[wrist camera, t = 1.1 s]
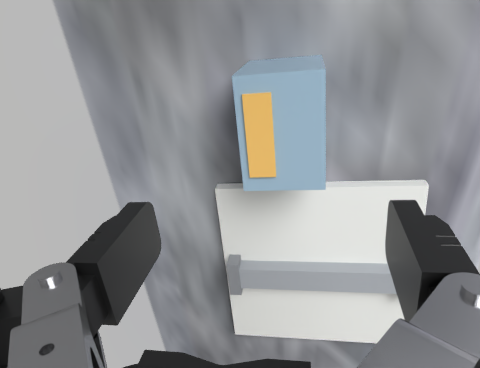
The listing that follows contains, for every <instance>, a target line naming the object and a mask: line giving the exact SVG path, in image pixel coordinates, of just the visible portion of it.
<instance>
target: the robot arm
mask: <svg viewBox="0 0 480 368" xmlns="http://www.w3.org/2000/svg"><path fill="white" fill-rule="evenodd" d="M160 251H161V238H160V233H159V229H158V225H157V220H156V216H155V212H154V208H153V205H152V204H151V203H150V202H129V203H128V204H127V205H126V206H125V207H124V208H123V209H122V210H121V211H120V212H119V214H117V216H114V217H112V218H111V219H109V220H107V221H106V222H104V223H103V224H102V225H101V226H100V227H99V228H98V229H97V230H96V231H95V233H94V234H92V235H91V236H90V237H89V238H88V241H86V242H85V243H84V244H83V245H82V246H81V247H80V248H79V249H78V250H77V251H76V252H75V253H74V255H72V257H71V258H70V259H69V260H68V261H67V262H66V263H56V264H52V265H49V266H46V267H44V268H42V269H40V270H38V271H36V272H35V273H33V274H32V275H31V276H30V277H29V278H28V279H27V280H26V281H25V283H24V285H23V286H19V287H13V288H9V289H3V290H1V289H0V368H107V364H106V360H105V355H104V351H103V346H102V341H101V337H100V334H99V332H98V329H99V328H100V327H101V325H118V324H119V322H120V320H121V319H122V317H123V315H124V314H125V312H126V310H127V309H128V307H129V305H130V304H131V302H132V300H133V299H134V297H135V295H136V294H137V292H138V290H139V289H140V287H141V285H142V284H143V282H144V280H145V278H146V277H147V275H148V273H149V272H150V270H151V268H152V267H153V265H154V263H155V262H156V260H157V258H158V257H159V254H160ZM385 252H386V259H387V263H388V267H389V270H390V273H391V276H392V280H393V283H394V286H395V290H396V293H397V296H398V299H399V303H400V306H401V309H402V313H403V316H404V319H405V320H404V319H401V318H400V319H398V320H396V321H395V322H394V323H393V324H392V326H391V327H390V328H389V329H388V330H387V332H386V333H385V334H384V335H383V337H382V338H381V339H380V340H379V341H378V343H377V344H376V345H375V346H374V347H373V349H372V350H371V351H370V352H369V353H368V355H367V356H366V357H365V358H364V360H363V361H362V362H361V363H360V364H359V366H358V367H357V368H480V274H479V272H478V271H477V269H476V267H475V266H474V264H473V263H472V261H471V260H470V258H469V256H468V255H467V253H466V252H465V250H464V248H463V247H462V246H461V244H460V242H459V241H458V239H457V237H455V234H454V233H453V231H452V230H451V228H450V226H449V225H448V224H447V223H445V222H444V221H442V220H441V219H440V218H438V217H437V216H435V215H424V214H423V212H422V210H421V208H420V206H419V204H418V203H417V201H416V200H390V201H389V204H388V213H387V226H386V239H385ZM124 368H311V362H304V361H290V360H277V359H262V360H256V361H249V362H243V363H236V364H230V365H218V364H215V363H212V362H209V361H206V360H203V359H200V358H197V357H194V356H191V355H188V354H185V353H181V352H167V351H154V350H145V351H144V353H143V355H142V357H141V359H140V361H139V363H138V364H134V365H130V366H126V367H124Z"/></svg>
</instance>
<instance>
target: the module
mask: <svg viewBox="0 0 480 368" xmlns="http://www.w3.org/2000/svg"><path fill="white" fill-rule="evenodd" d="M232 84H233V93H234V103H235V112H236V122H237V131H238V141H239V151H240V160H241V170H242V179H243V189H244V191H278V190H326V69H325V65H324V62H323V58H322V55H314V56H302V57H290V58H278V59H266V60H254V61H248V62H247V63H246V64H245V65H244V66H243V67H242V68H240V69H239V70H238V71H237V72H236V73H235V74H234V75H232Z"/></svg>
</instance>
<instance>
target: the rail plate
mask: <svg viewBox="0 0 480 368" xmlns="http://www.w3.org/2000/svg"><path fill="white" fill-rule="evenodd" d="M428 188H429V185H428V184H427V182H426V181H425V180H388V181H334V182H326V190H278V191H244V189H243V183H228V184H217V186H216V188H215V194H216V201H217V208H218V215H219V222H220V229H221V237H222V244H223V251H224V258H225V265H226V272H227V279H228V286H229V293H230V301H231V308H232V315H233V322H234V329H235V334H236V335H252V336H268V337H284V338H300V339H316V340H332V341H348V342H364V343H378V341H379V340H380V339H381V338H382V337H383V335H384V334H385V333H386V332H387V330H388V329H389V328H390V327H391V326H392V324H393V323H394V322H395V321H396V320H398V319H400V318H401V319H404V316H403V313H402V309H401V306H400V303H399V299H398V296H397V293H396V290H395V286H394V283H393V280H392V276H391V273H390V270H389V267H388V263H387V259H386V252H385V239H386V226H387V213H388V204H389V201H390V200H416V201H417V203H418V204H419V206H420V208H421V210H422V212H423V214H424V215H425V211H426V203H427V196H428ZM404 320H405V319H404Z"/></svg>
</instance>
